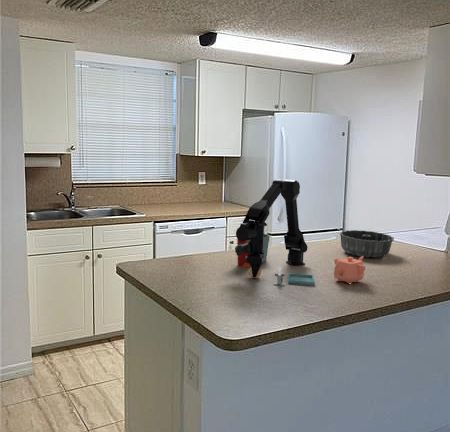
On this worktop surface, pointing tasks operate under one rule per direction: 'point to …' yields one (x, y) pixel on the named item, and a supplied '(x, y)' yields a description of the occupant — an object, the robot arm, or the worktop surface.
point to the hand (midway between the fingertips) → (254, 275)
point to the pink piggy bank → (349, 269)
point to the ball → (252, 274)
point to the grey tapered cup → (265, 246)
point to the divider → (279, 276)
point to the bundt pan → (366, 243)
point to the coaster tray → (301, 279)
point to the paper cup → (242, 256)
